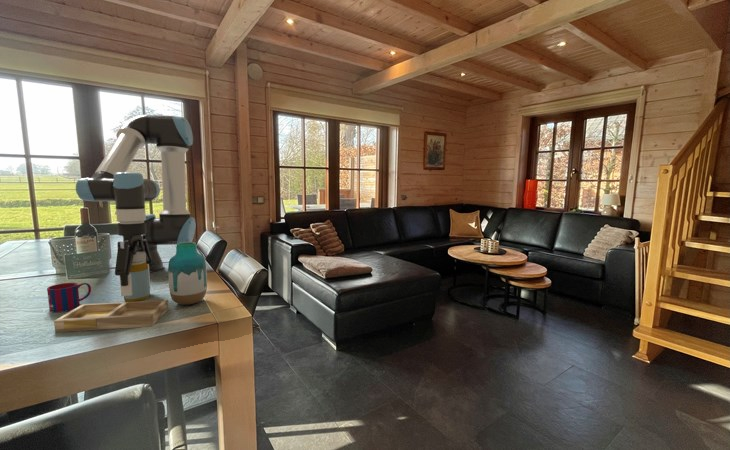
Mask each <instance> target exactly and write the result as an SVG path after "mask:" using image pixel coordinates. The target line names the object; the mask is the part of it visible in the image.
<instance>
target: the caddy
mask: <svg viewBox="0 0 730 450" xmlns="http://www.w3.org/2000/svg"><path fill="white" fill-rule="evenodd" d="M168 310H169V300H168V299H165V300H164V299H163V300H161V299H160V300H143V301H137V302H127V301H120V302H119V301H117V302H100V303H99V302H97V303H96V302H95V303H82V304H80V306H79V307H77V308H75V309H72V310H69V312H66V313H65V314H63V315H61V316H60V317H59V318H56V319H55V320H53V323H54V324H53V325H54V333H64V332H80V331H93V330H94V331H97V330H111V329H113V330H114V329H126V328H127V329H128V328H142V327H153V326H154V325H155V324H156V323H157V322H158V321H159V320H160V319H161V318H162V317H163V316H164V315H165V314H166V313H167V312H168Z"/></svg>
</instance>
